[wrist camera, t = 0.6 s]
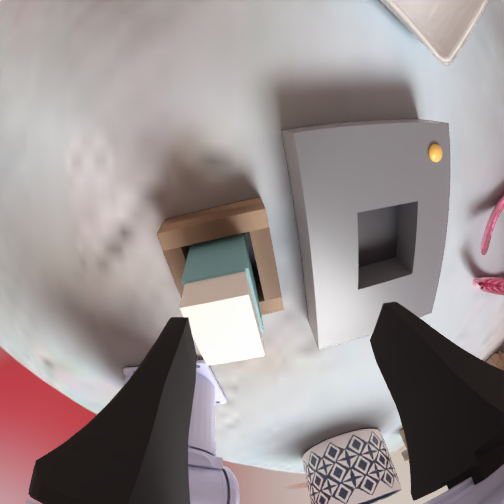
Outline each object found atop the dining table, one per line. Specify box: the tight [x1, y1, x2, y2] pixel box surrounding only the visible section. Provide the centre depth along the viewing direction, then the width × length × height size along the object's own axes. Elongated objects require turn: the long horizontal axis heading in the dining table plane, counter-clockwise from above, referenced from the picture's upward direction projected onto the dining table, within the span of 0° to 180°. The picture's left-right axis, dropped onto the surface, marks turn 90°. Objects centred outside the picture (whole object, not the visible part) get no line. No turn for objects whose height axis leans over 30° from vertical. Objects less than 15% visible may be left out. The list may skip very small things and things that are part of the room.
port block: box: [281, 119, 450, 350], centre depth 18 cm, size 11×16×4 cm
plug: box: [180, 233, 265, 366], centre depth 16 cm, size 4×4×8 cm
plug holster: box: [157, 197, 284, 315], centre depth 19 cm, size 7×8×2 cm
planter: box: [302, 429, 401, 504], centre depth 34 cm, size 16×16×14 cm
